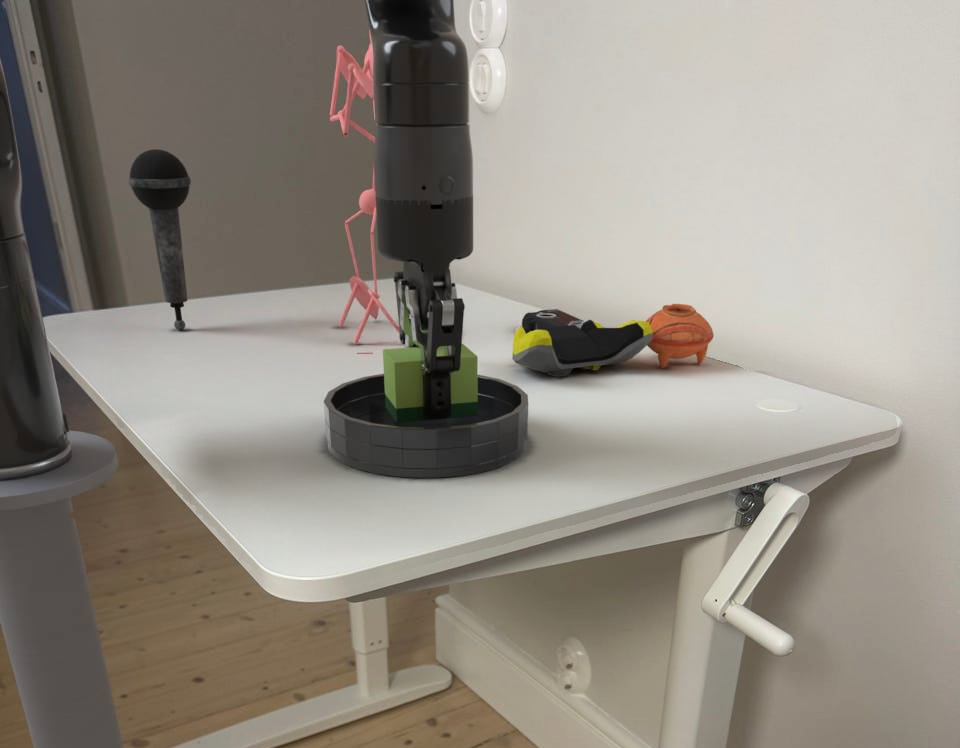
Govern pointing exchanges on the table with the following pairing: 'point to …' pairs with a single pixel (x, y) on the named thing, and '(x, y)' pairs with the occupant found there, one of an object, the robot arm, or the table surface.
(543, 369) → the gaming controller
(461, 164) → the robot arm
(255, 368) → the table surface
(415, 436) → the pan
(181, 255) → the microphone
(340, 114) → the figurine
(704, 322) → the pot
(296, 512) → the table surface
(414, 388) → the sponge
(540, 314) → the camera
